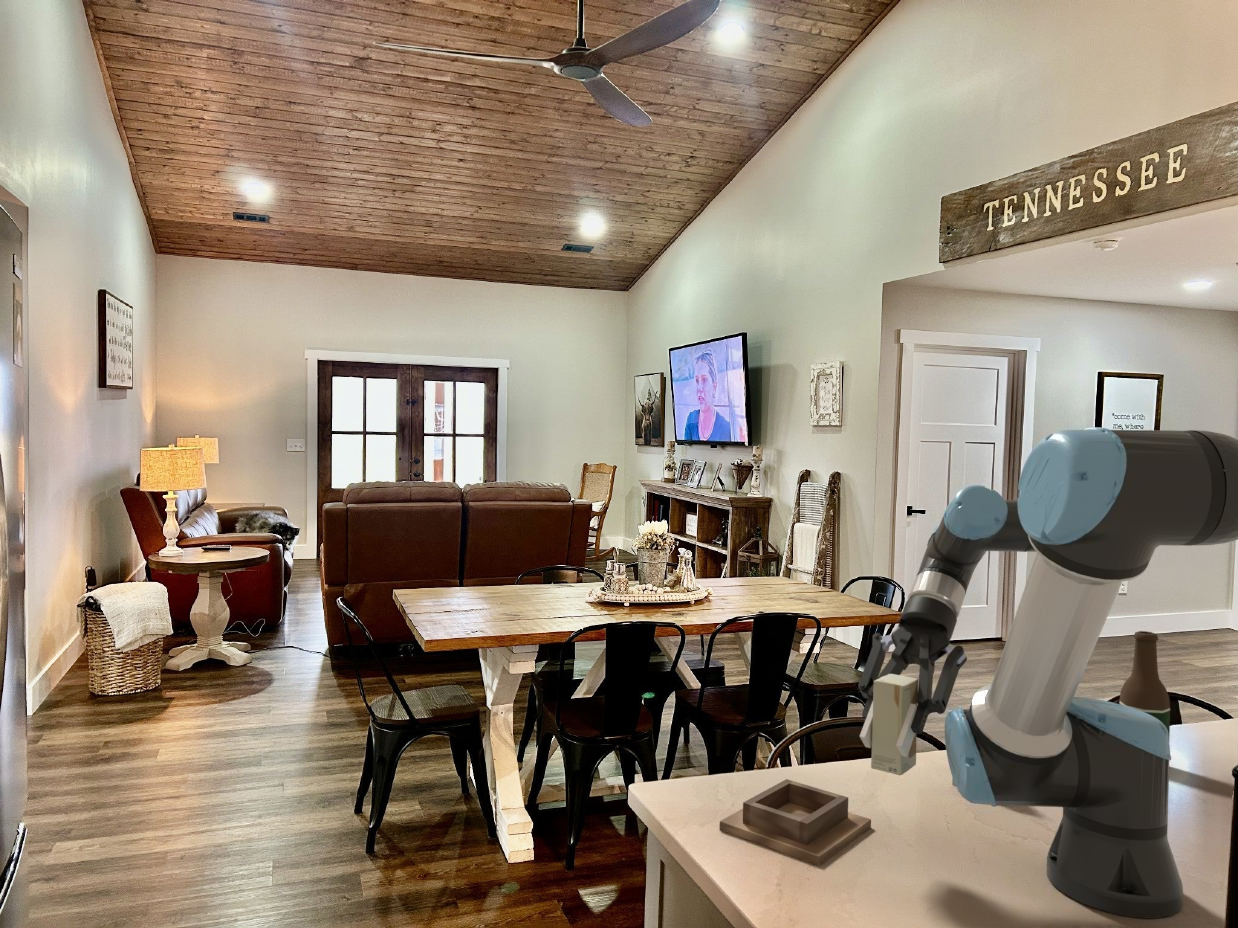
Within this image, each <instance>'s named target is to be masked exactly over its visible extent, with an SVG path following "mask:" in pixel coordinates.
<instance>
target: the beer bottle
mask: <svg viewBox="0 0 1238 928" xmlns="http://www.w3.org/2000/svg"><path fill="white" fill-rule="evenodd" d="M1158 637H1159V636H1158V635H1157V633H1155V632H1152V631H1144V630H1139V631H1135V632H1134V634H1133V638H1134V639H1135V643H1134V650H1133V651H1134V652H1133V653H1134V654H1133V663H1132V670H1131V675H1130V676H1129V677H1128V678H1127V680H1125V681H1124V683H1123V686H1122V687H1121V689H1120V692H1119V693H1120V694H1119V702H1118V704H1120V705H1124V706H1127V707H1130V708H1134V709H1137V710H1139V711H1142V712H1145V713H1147V714H1149V715H1151V716H1153V717H1155V718H1157V719H1158V720H1160V721H1161V722H1162V723H1163V724H1164V725H1165V727H1166V728H1167V730H1168V734H1169V737H1171V735H1170V734H1171V733H1170V729H1171V728H1170V727H1171V723H1170V722H1171V702H1170V695H1169V692H1168V690H1167V688H1166V687H1165V685H1164V684H1163V682H1162V681H1161V679H1160V676H1159V670H1158V669H1159V668H1158V652H1157V650H1158V649H1157V641H1159V638H1158Z"/></svg>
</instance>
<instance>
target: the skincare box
mask: <svg viewBox="0 0 1238 928" xmlns="http://www.w3.org/2000/svg"><path fill="white" fill-rule="evenodd" d="M918 684H919V678H915V677H913V676H912V677H910V676H906V675H901V674H900V675H895V674H888V675H886V676H883V677H881V678H879V679H877V680H875V681H874V689H873V724H872V746H871V759H870V762H871V763H870V768H871V769H873V770H877V771H881V772H884V773H885V772H886V773H888V774H893V775H897V776H902V775H905V774H906V773H907V772H908V771H910V770H911V769H912V768H913V767H915V766H916V765H917V735H918V734H917V733H915V735H914V738H913V741H912V744H911V747H910V750H909V753H908V756H907V757H905V756H902V755H901V753H900V752H899V750H898V748H897V746H896V744H897V741H898V738H899V735H900V732H901V729H902V727H903V724H904V721H905V718H906V715H907V712H908V709H909V706H910V704H916V706H918V703H917V701H916V699H917V698H918Z"/></svg>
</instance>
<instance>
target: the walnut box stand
mask: <svg viewBox="0 0 1238 928" xmlns="http://www.w3.org/2000/svg"><path fill="white" fill-rule="evenodd" d="M871 828H872V818H868V817H864V816H861V815H858V814H855V813H852V812H849V796H844V795H841V794H838V793H835V792H831V791H827V790H825V789H823V788H818V787H815V786H812V785H808V784H804V783H801V782H797V781H794V780H791V779H787V778H786V779H784V780H782V781H780V782H779V783H777V784H775V785H773V786H771V787H769V788H768V789H766V790H764V791H762V792H760V793H758V794H757V795H754V796H753V797H751V798H749V799H747V800H745V801H743V802H742V808H741V809H740V810H738V811H736V812H734V813H732V814H730V815H728V816H726V817H724V818H723V819H721V820H720V821H719V830H721V831H723V832H726V833H729V834H731V835H734V836H737V837H740V838H741V839H746V840H748V841H750V842H754V843H757V845H758V844H760V845H762V846H763V847H767V848H770V849H772V850H775V851H778V852H781V853H783V854H787V855H789V856H791V857H795V858H797V859H800V860H803V861H805V862H808V863H811V864H815V865H817V866H820V865H821V864H823V863H824V862H826V861H827V860H829V859H830V858H831V857H833V856H834V855H835V854H837V853H838V852H839V851H840V850H842V849H843V848H845V847H846V846H847V845H849V844H851V842H853V841H854V840H856V839H857V838H858V837H860V836H861V835H863V834H864V833H865V832H867V831H868V830H869V829H871Z"/></svg>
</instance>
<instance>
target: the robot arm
mask: <svg viewBox="0 0 1238 928" xmlns="http://www.w3.org/2000/svg"><path fill="white" fill-rule="evenodd" d="M1017 490H1018V491H1019V497H1017V499H1016V500H1015V499H1005V498H1004V497H1003V496H1002V495H1001V494H1000V493H999V492H998V491H996V490H995V489H993V488H992V489H991V488H988V487H986V486H985V485H981V484H978V485H977V484H974V485H968V486H966V487H963V488H961V489H960V490H959V491H958V492H956V494H955V495H954V497H953V498H952V499H951V501H950V502H949V504H948V505H947V506H946V508H945V510H944V514H943V516H942V518H941V521H940V523H938V524H937V525H936V526H935V528H934V529H933V532H931V535H930V537H929V538H928V541H927V544H926V549H925V552H924V555H923V558H922V560H921V562H920V566H919V568H918V571H917V574H916V576H915V579H914V580H913V584H912V586H911V589H910V591H909V593H908V596H907V601H906V602H905V604H904V606H903V610H902V612H901V614H900V618H899V622H898V625H897V627H896V628H895V629H894V630H893V631H892V633H891V634H890V635H889V634H888V635H881V634H880V633H879V632H876V633H874V634H872V648H871V650H870V653H869V656H868V658H867V661H866V662H865V666H864V670H863V672H862V675H861V677H860V679H859V681H858V682H859V683H858V685H857V686H858V690H859V691H860V693H861V695H862V697H863V698H864V699H866V702H865V705H864V707H863V710H862V712H861V714H862V715H861V717H862V718H863V720H864V723H863V726H862V728H861V731H860V734H859V738H860V740H861V742H862V744H863V745H864V747H865V748H867V749H868V748H869V749H872V724H873V689H874V681H875V680H877V679H879V678H881V677H883V676H886V675H888V674H895V675H901V674H902V673H903V671H906V670H907V668H908V667H909V665H917V666H919V672H918V673H919V674H918V698H917V699H916V701H917V706H916V704H910V706H909V709H908V712H907V715H906V718H905V721H904V724H903V727H902V729H901V732H900V735H899V738H898V741H897V744H896V746H897V748H898V750H899V752H900V753H901V755H902V756H905V757H907V756H908V753H909V750H910V747H911V744H912V741H913V738H914V735H915V733H917V735H921V734H922V733H923V732H924V728H925V726H926V723H927V720H928V717H929V715H930V714H933V713H937V714H939V715H943V714H944V713H945V712H946V710H947V709H946V708H947V706H948V703H949V700H950V698H951V695H952V692H953V688H954V685H955V683H956V679H957V677H958V674H959V671H960V669H961V668H962V667H963V666H964V664H965V663H967V660H968V657H967V654H966V652H965V650H964V647H963V646H962V645H956V646H955V645H953V644H951V639H952V636H953V635H954V631H955V628H956V625H957V621H958V617H959V615H960V612H961V609H962V607H963V604H964V600H965V598H966V595H967V591H968V588H969V584H970V582H971V579H972V577H973V575H974V571H975V569H976V568H977V566H978V564H979V563H980V561H981V560H982V559H983V558H984V557H983V556H984V555H985V554H986V553H987V552H1012V553H1013V552H1017V553H1018V552H1019V553H1020V552H1023V553H1024V552H1025V553H1026V552H1031V553H1032V552H1033V553H1035V557H1034V559H1033V562H1032V566H1031V568H1030V571H1029V574H1028V577H1027V580H1026V584H1025V585H1024V586H1025V587H1024V589H1023V592H1022V595H1021V598H1020V601H1019V604H1018V606H1017V609H1016V612H1015V614H1014V618H1013V621H1012V624H1011V626H1010V630H1009V632H1008V636H1007V638H1006V641H1005V644H1004V647H1003V650H1002V653H1001V656H1000V659H999V662H998V665H997V668H996V670H995V673H994V677H993V680H992V682H991V683H989V684H986V685H983V686H982V687H980V688H979V689H978V690H977V691H976V692H975V693H974V695H973V697H972V699H971V704H970V706H969V709H963V708H962V707H958V708H957V709H956V708H954V709H950V710H949V711H948V712H947V714H946V715H945V721H944V742H945V752H946V757H947V761H948V765H949V770H950V773H951V776H952V777H953V780H954V783H955V785H956V786H955V787H956V789H957V791H958V793H959V794H960V795H961V797H962V798H963V799H965V800H966V801H967V802H969V803H971V804H975V805H977V804H978V805H988V806H992V807H994V808H995V807H998V806H999V807H1002V806H1003V807H1038V808H1039V807H1046V808H1047V807H1049V808H1050V807H1051V808H1052V807H1053V808H1062V817H1061V821H1060V823H1059V826H1058V828H1057V830H1056V833H1055V835H1054V836H1053V837H1054V838H1053V840H1052V842H1051V845H1050V848H1049V850H1048V852H1047V856H1046V877H1047V879H1048V881H1049V882H1050V883H1051V884H1052V885H1053V886H1054V887H1055V888H1056V890H1057V889H1058V890H1059V891H1060V892H1061V893H1063V894H1065V895H1066V896H1068V897H1069V898H1072V900H1076V901H1078V902H1080V903H1081V904H1084V905H1087V906H1089V907H1091V908H1094V909H1096V910H1097V909H1098V910H1101V911H1104V912H1107V913H1113V914H1116V915H1120V916H1126V917H1132V918H1133V917H1134V918H1143V919H1158V918H1165V917H1171V916H1173V915H1175V914H1177V913H1179V912H1180V911H1181V910H1182V908H1183V903H1184V885H1183V882H1182V879H1181V877H1180V874H1179V871H1178V866H1177V864H1176V861H1175V857H1174V855H1173V854H1174V853H1173V852H1172V848H1171V846H1170V842H1169V840H1168V825H1169V824H1168V823H1169V794H1170V793H1169V792H1170V791H1169V786H1170V785H1169V783H1170V761H1171V760H1172V756H1171V747H1170V736H1169V734H1168V730H1167V728H1166V727H1165V725H1164V724H1163V723H1162V722H1161V721H1160V720H1158V719H1157V718H1155V717H1153V716H1151V715H1149V714H1147V713H1145V712H1142V711H1139V710H1137V709H1134V708H1130V707H1127V706H1124V705H1120V704H1119V703H1116V702H1112V701H1107V700H1102V699H1098V698H1097V699H1096V698H1092V697H1079V696H1075V694H1076V692H1077V690H1078V688H1079V686H1080V685H1079V684H1080V683H1081V680H1082V678H1083V675H1084V672H1085V671H1086V668H1087V666H1088V663H1089V661H1090V658H1091V657H1092V654H1093V652H1094V649H1095V647H1096V644H1097V642H1098V641H1099V640H1098V639H1099V638H1100V635H1101V632H1102V630H1103V628H1104V626H1105V624H1106V621H1107V619H1108V616H1109V614H1110V611H1111V610H1112V607H1113V605H1114V602H1115V600H1116V597H1117V595H1118V593H1119V590H1120V588H1121V586H1122V584H1123V582H1128V581H1132V580H1134V579H1136V578H1138V577H1140V576H1141V575H1143V574H1144V572H1145V571H1146V570H1147V567H1148V566H1149V563H1150V561H1151V559H1152V557H1153V555H1154V553H1155V550H1156V549H1157V548H1158V547H1160V546H1173V547H1174V546H1176V547H1177V546H1184V547H1185V546H1187V547H1188V546H1189V547H1190V546H1214V545H1221V544H1227V543H1232V542H1236V541H1237V540H1238V439H1237V438H1235V437H1233V436H1231V435H1228V434H1223V433H1220V432H1214V431H1211V430H1210V431H1208V430H1198V429H1197V430H1196V429H1195V430H1192V429H1187V430H1169V429H1168V430H1157V429H1155V430H1153V429H1151V430H1150V429H1148V430H1147V429H1109V428H1106V427H1097V426H1096V427H1095V426H1093V427H1086V428H1082V429H1063V430H1059V431H1056V432H1054V433H1051V434H1049V435H1047V436H1045V437H1043V438H1042V439H1041V440H1040V441H1039V442H1037V444H1036V445H1035V446H1034V447H1033V449H1032V450H1031V451H1030V453H1029V455H1028V456H1027V458H1026V460H1025V462H1024V464H1023V467H1022V470H1021V473H1020V476H1019V480H1018V486H1017ZM891 645H894V649H893V650H892V652H891V655H890V656H891V657H890V659H889V660H888V662H887V663H886V665H885V666H884V667H883V665H884V661H885V659H886V653H889V651H890V647H891ZM945 655H946V658H945V661H944V664H943V666H942V669H941V672H940V674H939V678H938V681H937V683H936V686H935V689H934V692H933V682H934V674H935V666H936V665H935V662H936V661H938V660H939V659H940V658H943V656H945ZM882 668H883V669H882Z"/></svg>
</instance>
